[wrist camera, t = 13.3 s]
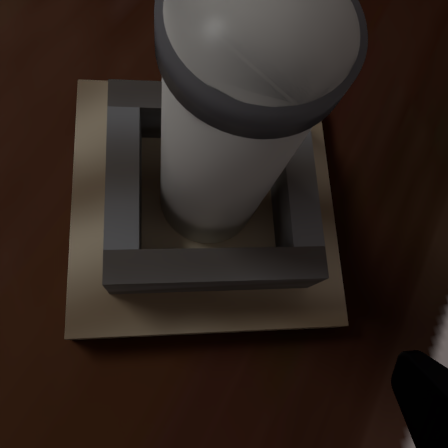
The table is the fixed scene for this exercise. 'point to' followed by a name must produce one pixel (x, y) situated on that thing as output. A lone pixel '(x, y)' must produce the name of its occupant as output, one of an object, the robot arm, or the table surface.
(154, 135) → the collar
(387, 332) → the table surface
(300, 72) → the tube
